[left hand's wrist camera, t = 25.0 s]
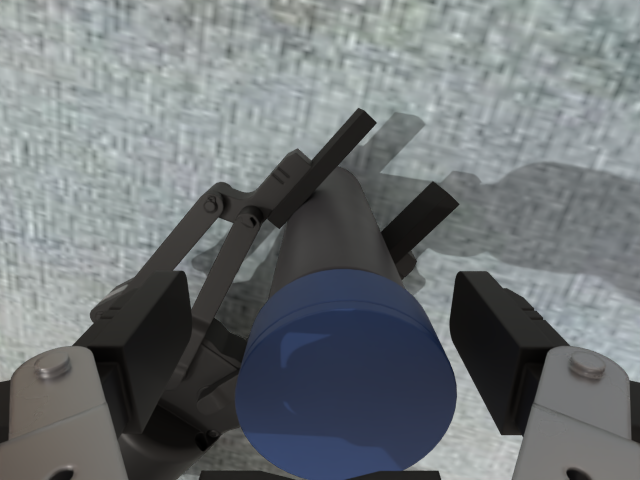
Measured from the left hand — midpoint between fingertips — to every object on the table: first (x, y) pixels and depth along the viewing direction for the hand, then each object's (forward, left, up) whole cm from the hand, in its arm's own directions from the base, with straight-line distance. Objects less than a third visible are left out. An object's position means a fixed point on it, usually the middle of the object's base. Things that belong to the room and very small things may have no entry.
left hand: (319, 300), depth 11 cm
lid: (+1, +1, +2) cm, 3 cm away
